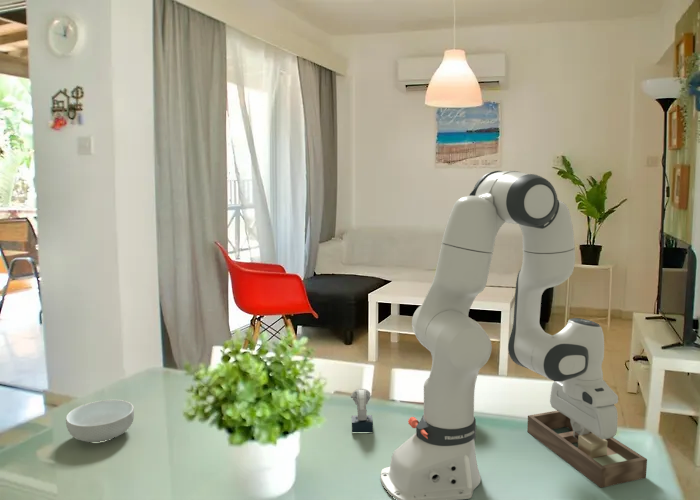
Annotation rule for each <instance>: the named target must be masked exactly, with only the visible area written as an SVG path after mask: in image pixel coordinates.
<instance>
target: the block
mask: <svg viewBox="0 0 700 500" xmlns="http://www.w3.org/2000/svg"><path fill="white" fill-rule="evenodd" d="M577 448H578V449H580V450H581V451H583V452H584V453H585V454H587V455H588V456H590V457H591V458H594V457H599V456H604V455H607V440H605V439H601V438H599V437H598V436H596V435H595V434H593V433H589V434H584V435H579V436H578V442H577Z"/></svg>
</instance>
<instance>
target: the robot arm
mask: <svg viewBox="0 0 700 500" xmlns="http://www.w3.org/2000/svg"><path fill="white" fill-rule="evenodd" d="M505 223H508V224H513V225H514V224H515V225H518V226H519V228H520V230H521V233H522V262H521V263H522V264H521V267H520V269H519V271H518V273H517V276H516V281H515V291H514V292H515V293H514V294H515V295H514V304H513V305H514V307H513V321H512V322H513V324H512V329H511V333H510V335H509V339H508V346H507V350H508V354H509V358H510V359H511V360H512V362H514V363H515V364H516V365H517V366H519V367H522V368H526V369H529V370H530V371H532V372H534V373H535V374H537V375H539V376H542V377H545V378H547V380H550V381H553V383H552V385H551V388H550V389H551V390H550V396H549V397H550V399H549V403H550V405H551V407H552V408H553V409H554V410H555V411H559V412H560V413H562V414H563V415H565V416H567V417H568V418H570V423H571V426H572V429H573V437H575V438H576V439H578V436H579V435H584V434H589V432H591V433H593V434H595V435H596V436H598V437H599V438H601V439H608V438H614V437H615V436H616V435H617V432H618V419H619V418H618V409H617V407H616V404H618V403H619V396H618V394H617V393H616V392H615V391H614V390H613V389H612V388H611V387H610V386H609V385H608V384H607V382H606V381H605V380H604V372H603V368H602V365H603V362H604V360H605V359H604V358H605V334H604V331H603V328H602V326H601V325H600V324H599V323H598V322H595V321H593V320H590V319H585V318H580V317H573V318H569V319H568V321H567V324H566V325H565V326H564V327H563V328H562V329H561V330H560V331H558V332H556V333H555V334H553V335H552V334H550V333H548V332H545V330H544V329H543V328H542V326H541V324H540V318H541V307H542V304H541V303H542V295H543V293H544V292H545V291H546V290H547V289H549V288H553V287H557V286H559V285H561V284H564V283H565V282H566V281H567V280H568V279H569V278H570V277H571V276H572V275H573V273H574V268H575V264H576V251H575V233H574V227H573V222H572V216H571V213H570V209H569V206H568V205H567V204H566V203H564V202H563V201H562V200H560V199H558V193H557V191H556V189H555V188H554V186H553V184H552V183H551V181H549V180H548V179H547V178H545V177H542V176H540V175H538V174H535V173H532V174H531V173H527V172H526V173H525V172H521V171H516V170H504V171H503V170H493V171H490V172H488V173H486V174H484V175H482V176H481V177H480V178H479V179H478V181H476V183H475V185H474V187H473V189H472V191H471V192H470V193H469V195H466V196H462V197H461V198H459V199H457V200H456V201H455V202H454V203H453V206H452V208H451V211H450V213H449V216H448V218H447V221H446V225H445V228H444V232H443V235H442V239H441V243H440V250H439V252H438V259H437V262H436V266H435V267H436V268H435V272H434V276H433V278H432V282H431V284H430V287H429V289H428V292H427V294H426V296H425V298H424V300H423V302H422V303H421V305H419V306H418V307H417V308H416V310H415V311H414V313H413V315H412V317H411V326H412V331H413V333H414V335H415V338H416V339H417V340H418V342H419V344H421V345H422V346H423V347H424V348H426V349H427V350H428V351H429V353H430V354H431V360H432V363H431V368H430V373H429V376H428V377H427V379H426V380H425V381H424V384H423V415H422V417H421V418H420V420H418V419H417V418H416V417H414V416H411V417H409V419H408V421H407V422H408V425H409V426H411V427H410V428H412V429H416V431H415V433H414V434H412V436H410V437H409V438H408V439H407V440H406V441H403V443H401V445H400V446H398V447H397V448H395V449H394V450H393V453H392V455H391V459H390V465H389V466H387V467H384V468H382V469H381V471H380V483H381V485H382V486H384V487H383V489H384V488H385V489H386V490H387V491H386V490H385V489H384V490H385V491H386V493H387V492H388V493H389V494H390V495H391V496H393V497H394V498H395V499H397V500H467V499H471V498H472V497H473V493H474V490H475V489H476V488H477V487H478V486H479V485H480V483H481V481H482V477H481V474H480V471H479V466H478V461H477V456H476V455H477V454H476V446H475V445H476V444H475V441H476V437H477V436H476V435H477V421H476V418H475V392H476V391H475V390H476V383H477V379H478V375H479V372H480V369H482V368H483V367H484V366H485V365H486V364H487V363H488V361H489V360H490V357H491V354H492V349H493V348H492V346H493V345H492V339H490V336H489V335H488V333H487V332H486V330H485V329H484V328H483V327H482V325H481V324H479V323H478V321H476V320H475V319H472V318H471V317H469V312H470V309H471V307H472V305H473V303H474V301H475V300H476V298H477V296H478V295H479V294H480V293H482V292H483V291H484V290H485V288H486V286H487V282H488V280H489V279H488V277H489V273H490V268H491V264H492V263H491V262H492V260H493V259H492V258H493V254H494V248H495V246H496V245H495V243H496V239H497V235H498V232H499V231H500V229H501V227H502V226H503V225H504V224H505ZM581 429H582V431H581ZM388 493H387V494H388ZM389 494H388V495H389ZM390 495H389V496H390ZM391 496H390V497H391ZM394 498H393V499H394ZM395 499H394V500H395Z"/></svg>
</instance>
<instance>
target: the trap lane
mask: <svg viewBox="0 0 700 500" xmlns="http://www.w3.org/2000/svg"><path fill="white" fill-rule="evenodd" d="M563 428H567V429H568V430H570V431H567V432H562V433H558V432H556V431H555V430H557V429H563ZM581 431H582V429H581ZM527 433H529V434H530V435H531V436H532V437H534V439H536V440H537V441H538V442H540V443H541V444H543V446H545V447H547V448H548V449H549V450H550V451H552V452H553V453H555V454H556V456H559V457H560V458H561V459H562V460H564V461H565V462H566V463H568V465H570V466H572V467H573V468H574V469H576V470H577V471H578V472H579V473H581V474H582V475H583V476H585V477H586V478H587V479H588V480H590V481H591V482H593V483H594V484H595V485H597V486H598V487H599V488H600V489H601V488H606V487H611V486H616V485H620V484H624V483H628V482H635V481H637V480H642V479H646V478H647V468H648V467H647V466H648V459H647V458H646V457H644V456H643V455H642V454H640V453H638V452H637V451H635V450H634V449H632V448H630V447H629V446H627V445H626V444H624V443H622V442H621V441H619V440H617V439H616V438H614V437H613V438H608V439H605V440H607V455H604V456H599V457H594V458H591V457H590V456H588V455H587V454H585V453H584V452H583V451H581V450H580V449H578V446H576V445H575V443H578V439H576V438H575V437H573V429H572V426H571V423H570V418H568V417H567V416H565V415H563V414H562V413H560V412H559V411H557V410H553V411H552V410H551V411H546V412H541V413H534V414H528V415H527ZM589 433H591V432H589Z"/></svg>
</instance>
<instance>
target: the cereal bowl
mask: <svg viewBox="0 0 700 500" xmlns="http://www.w3.org/2000/svg"><path fill="white" fill-rule="evenodd" d="M134 418H135V407H134V405H133V404H132V402H129V401H126V400H122V399H105V400H104V399H103V400H97V401H93V402H88V403H86V404H85V403H84V404H82V405H80V406H77V407H75V408H73V409H72V410H71V411H69V412H68V413H67V414H66V417H65V424H66V428H67V431H68V433H69V435H70V436H72V437H73V438H74V439H76V440H77V441H80V442H86V443H89V442H100V441H105V440H109V439H112V438H114V437H115V438H117V437H119V436H120V435H123V434H124V433H125V432H127V430H129V429H130V427H131V426H132V424H133V422H134ZM115 438H114V439H115ZM112 440H113V439H112Z"/></svg>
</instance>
